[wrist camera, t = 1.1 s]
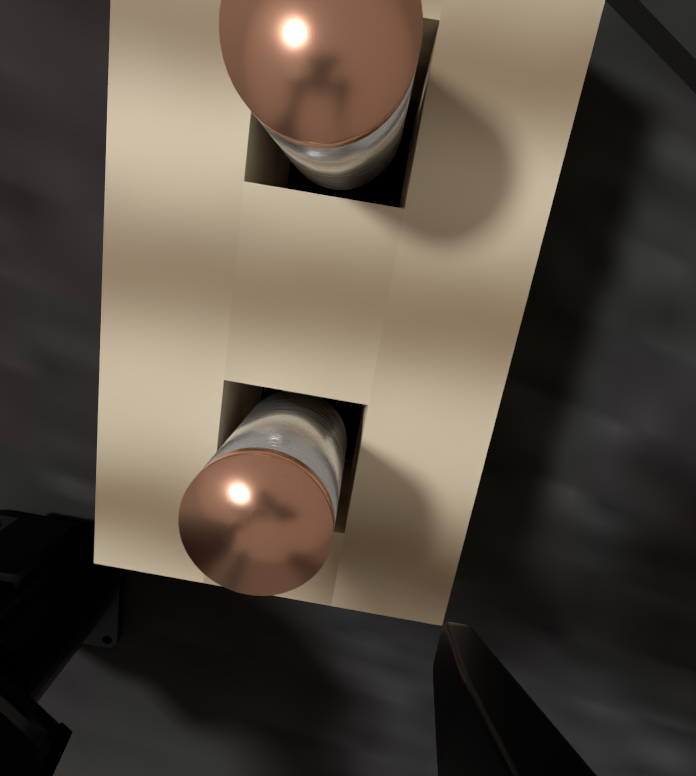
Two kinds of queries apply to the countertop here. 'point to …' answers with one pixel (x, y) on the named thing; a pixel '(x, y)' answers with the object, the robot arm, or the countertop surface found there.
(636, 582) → the countertop surface
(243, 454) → the steel peg
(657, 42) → the smart home device
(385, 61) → the steel peg
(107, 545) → the birch block
